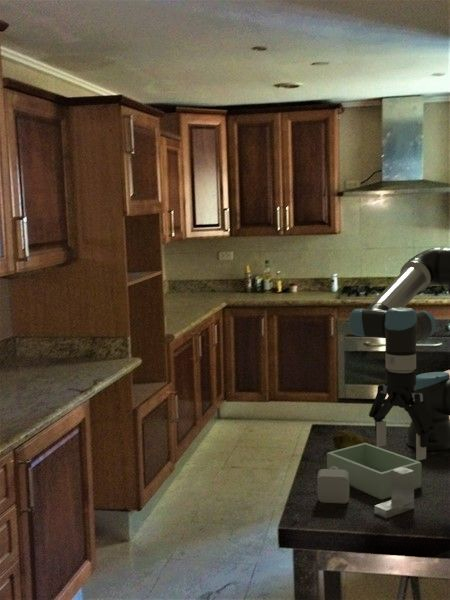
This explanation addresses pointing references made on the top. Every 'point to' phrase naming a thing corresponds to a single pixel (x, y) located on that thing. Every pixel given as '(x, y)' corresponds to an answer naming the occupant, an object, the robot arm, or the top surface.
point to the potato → (348, 439)
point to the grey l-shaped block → (398, 494)
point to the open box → (372, 468)
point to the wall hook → (333, 485)
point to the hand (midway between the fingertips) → (400, 452)
